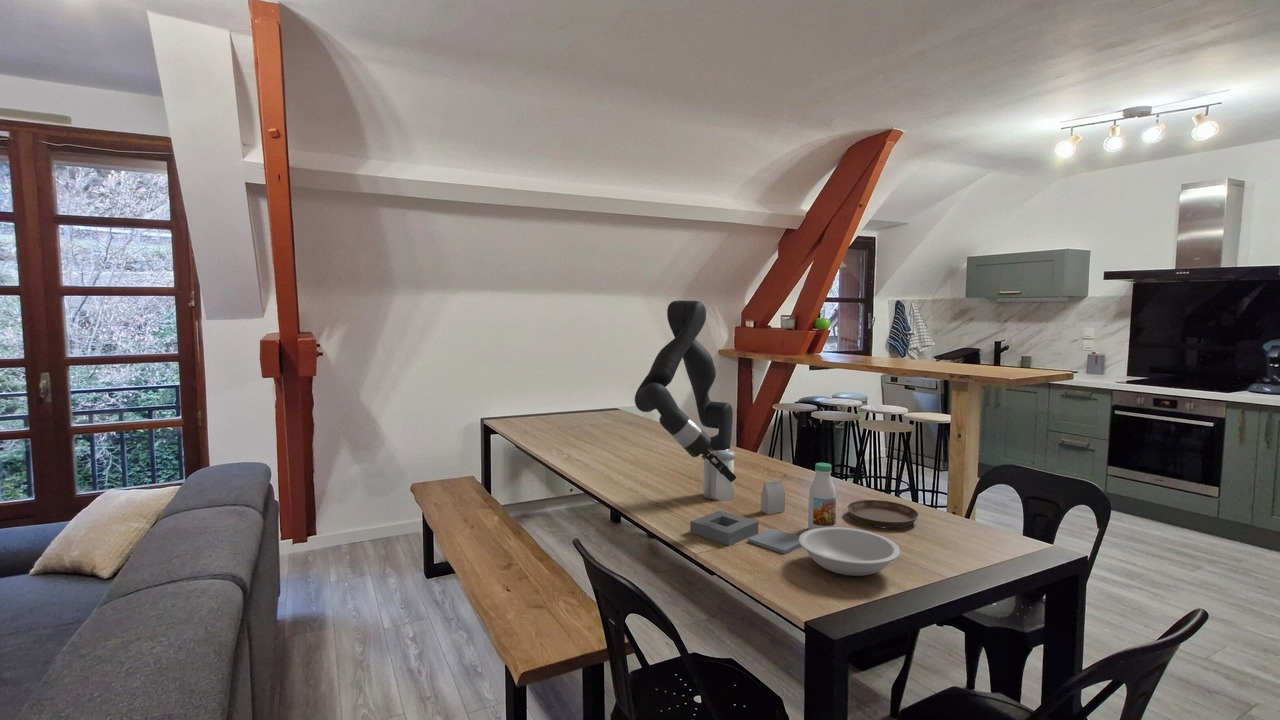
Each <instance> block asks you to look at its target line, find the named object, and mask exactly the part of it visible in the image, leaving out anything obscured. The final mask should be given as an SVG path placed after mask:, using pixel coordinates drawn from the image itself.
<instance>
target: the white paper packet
mask: <svg viewBox="0 0 1280 720" xmlns="http://www.w3.org/2000/svg"><path fill="white" fill-rule="evenodd" d="M763 483H764V484H763V488H762V491H761V493H760V512H761V511H762V513H763V512H764V514H765V513H766V514H765V515H768V514H769V515H774V514H773V513H775V514H779V513H778V512H780V513H785V512H786V511H785V510H786V509H785V508H786V492H785V488H784V485H783V480H782V479H779V480H771V481H764V482H763ZM784 511H785V512H784Z"/></svg>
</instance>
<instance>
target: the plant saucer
mask: <svg viewBox="0 0 1280 720" xmlns="http://www.w3.org/2000/svg"><path fill="white" fill-rule="evenodd" d="M846 509H847V511H848V513H849V515H851V517H852V518H854V519H855V520H856V521H857V522H859V523H862V524H863V523H864V525H866V524H867V525H866V526H869V525H871V526H870V527H874V526H877V527H876V528H879V527H885V528H884V529H902V528H901V527H903V528H906V526H907V527H908V526H910V525H912V524H913V523H914V522H915V521H916V520H917V519H918V517H919V515H920V514H919V512H918V511H917V510H916V509H914V508H913V507H911V506H908V505H906V504H902V503H899V502H893V501H888V500H880V499H879V500H878V499H864V500H863V499H862V500H857V501H853V502H850V503H848V505H847V507H846Z"/></svg>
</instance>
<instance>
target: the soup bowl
mask: <svg viewBox="0 0 1280 720" xmlns="http://www.w3.org/2000/svg"><path fill="white" fill-rule="evenodd" d="M799 536H800V537H799V544H800V545H801V546H800V547H801V548H803V550H804V551H806V552H807V554H808V555H809V556H810V558H811V559H812V560H813V562H815V563H816V564H818V565H819V566H820V567H822V568H824V569H825V570H828V571H830V572H832V573H835V574H839V575H844V576H852V577H853V576H854V577H861V576H862V577H863V576H868V575H873V574H876V573H878V572H880V571H882V570H884V569H885V568H886V567H887V566H888V565H889V564H890V563H891V562H893V561H895V560H896V559H898V557H900V554H901V549H900V547H899V546H898V544H896V543H895V542H894V541H893V540H890V539H889V538H887V537H885V536H882V535H880V534H878V533H875V532H870V531H868V530H867V531H866V530H863V529H857V528H849V527H839V526H837V527H836V526H835V527H825V528H816V529H812V530H809V529H808V530H805V531H803V532H802V533H801V534H800V535H799Z"/></svg>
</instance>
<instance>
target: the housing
mask: <svg viewBox="0 0 1280 720" xmlns="http://www.w3.org/2000/svg"><path fill="white" fill-rule="evenodd" d="M689 526H690V527H689V529H690V530H689V531H690V532H691V533H690V532H689V533H690V534H692V533H694V534H693V535H695V534H696V536H698V535H700V536H699V537H701V536H703V537H702V538H704V537H705V538H704V539H707V538H708V539H707V540H710V539H711V540H710V541H713V540H714V542H716V543H719V542H720V543H719V544H722V545H725V546H729V547H730V546H733V545H735V544H736V543H739V542H741V541H743V539H744V540H745V539H748V538H751V537H753V536H755V535H757V534H759V521H758V520H755V519H752V518H748V517H745V516H741V515H737V514H734V513H731V512H727V511H724V510H718V511H714V512H712V513H709V514H707V515H703V516H701V517H698V518H695V519H693V520H690V525H689ZM750 536H751V537H750Z"/></svg>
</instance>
